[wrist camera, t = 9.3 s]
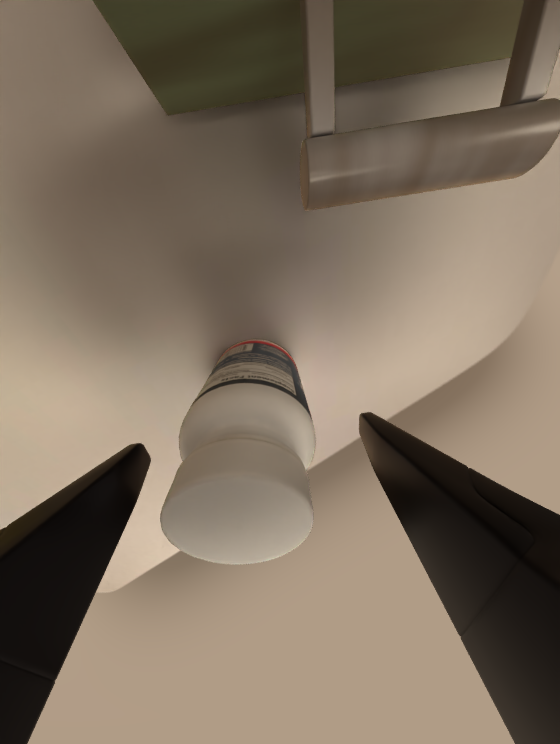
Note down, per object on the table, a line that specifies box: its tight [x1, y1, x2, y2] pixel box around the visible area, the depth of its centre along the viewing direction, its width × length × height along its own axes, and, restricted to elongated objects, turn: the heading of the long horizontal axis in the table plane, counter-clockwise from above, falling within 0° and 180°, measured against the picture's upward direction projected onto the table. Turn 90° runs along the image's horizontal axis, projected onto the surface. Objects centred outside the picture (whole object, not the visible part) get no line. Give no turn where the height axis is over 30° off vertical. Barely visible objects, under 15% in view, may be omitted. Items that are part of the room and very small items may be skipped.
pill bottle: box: [160, 339, 316, 565], centre depth 9 cm, size 5×5×9 cm
